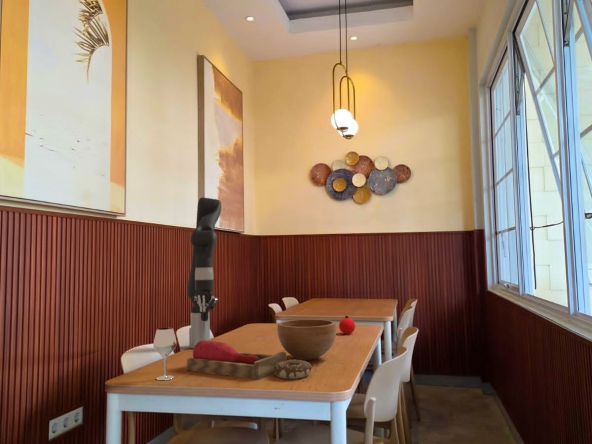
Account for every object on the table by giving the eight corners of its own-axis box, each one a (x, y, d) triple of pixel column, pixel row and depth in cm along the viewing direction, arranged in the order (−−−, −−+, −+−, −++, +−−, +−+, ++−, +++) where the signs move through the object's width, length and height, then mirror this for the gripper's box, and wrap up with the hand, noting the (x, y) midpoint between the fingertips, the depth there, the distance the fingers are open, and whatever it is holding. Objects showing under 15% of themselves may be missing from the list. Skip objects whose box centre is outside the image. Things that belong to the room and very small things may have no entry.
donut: (299, 382, 160) (298, 367, 160) (266, 378, 167) (266, 363, 167) (318, 373, 172) (318, 359, 172) (287, 369, 179) (287, 356, 180)
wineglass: (156, 376, 173) (156, 327, 175) (178, 375, 174) (178, 326, 175) (151, 381, 165) (151, 330, 167) (174, 380, 166) (174, 329, 167)
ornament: (356, 335, 252) (355, 316, 253) (339, 335, 253) (339, 317, 253) (354, 332, 261) (353, 314, 262) (338, 333, 261) (338, 315, 262)
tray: (187, 370, 181) (186, 354, 181) (218, 360, 197) (218, 346, 198) (258, 379, 164) (258, 362, 165) (286, 368, 181) (286, 352, 181)
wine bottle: (198, 369, 187) (255, 380, 170) (187, 352, 183) (244, 361, 166) (212, 351, 194) (268, 359, 177) (202, 334, 190) (258, 341, 173)
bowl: (343, 354, 203) (342, 319, 205) (328, 367, 180) (327, 328, 181) (289, 352, 212) (289, 318, 213) (269, 364, 188) (268, 326, 189)
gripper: (185, 279, 191) (186, 321, 190) (210, 279, 185) (211, 322, 184) (198, 278, 198) (198, 319, 197) (222, 278, 191) (223, 320, 190)
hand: (204, 320), depth 190 cm, fingers closed
